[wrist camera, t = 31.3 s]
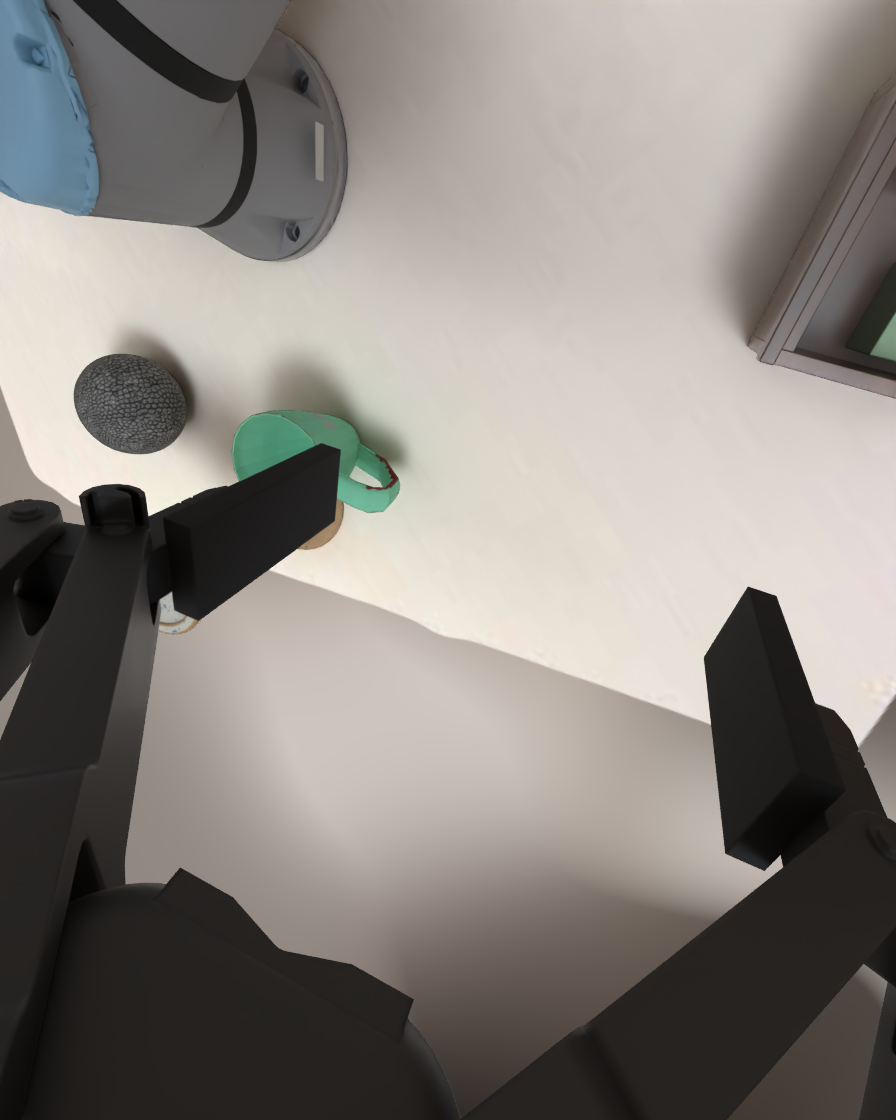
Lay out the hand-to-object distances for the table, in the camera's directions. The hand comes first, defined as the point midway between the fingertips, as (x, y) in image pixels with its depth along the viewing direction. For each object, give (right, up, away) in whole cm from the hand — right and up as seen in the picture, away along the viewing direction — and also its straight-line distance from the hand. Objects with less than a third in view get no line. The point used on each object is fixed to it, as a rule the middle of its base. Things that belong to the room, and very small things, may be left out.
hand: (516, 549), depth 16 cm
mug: (-11, +11, +36) cm, 39 cm away
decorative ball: (-33, +18, +42) cm, 56 cm away
